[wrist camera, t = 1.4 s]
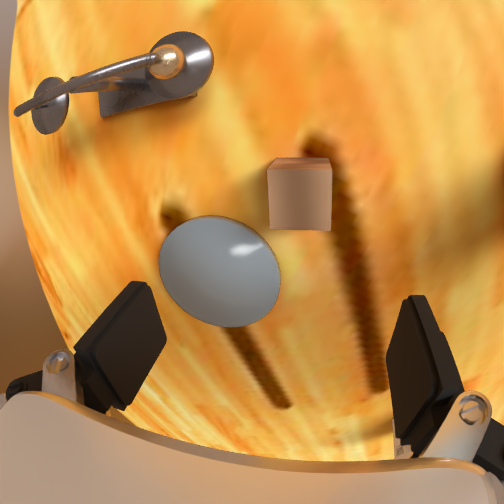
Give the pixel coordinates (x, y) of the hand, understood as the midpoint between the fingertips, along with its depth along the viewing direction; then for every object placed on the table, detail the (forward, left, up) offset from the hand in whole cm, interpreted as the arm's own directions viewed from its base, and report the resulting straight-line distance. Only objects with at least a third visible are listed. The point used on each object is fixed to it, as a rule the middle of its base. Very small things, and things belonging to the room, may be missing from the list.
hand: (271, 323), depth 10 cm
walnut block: (0, 0, -20) cm, 20 cm away
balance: (+16, -12, -20) cm, 28 cm away
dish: (+10, +11, -20) cm, 25 cm away
